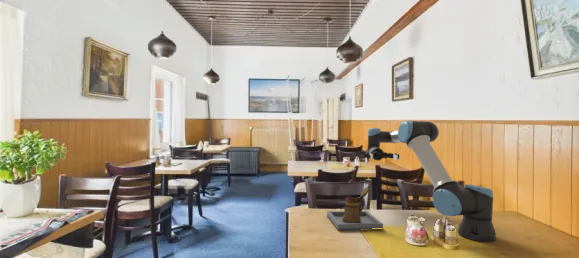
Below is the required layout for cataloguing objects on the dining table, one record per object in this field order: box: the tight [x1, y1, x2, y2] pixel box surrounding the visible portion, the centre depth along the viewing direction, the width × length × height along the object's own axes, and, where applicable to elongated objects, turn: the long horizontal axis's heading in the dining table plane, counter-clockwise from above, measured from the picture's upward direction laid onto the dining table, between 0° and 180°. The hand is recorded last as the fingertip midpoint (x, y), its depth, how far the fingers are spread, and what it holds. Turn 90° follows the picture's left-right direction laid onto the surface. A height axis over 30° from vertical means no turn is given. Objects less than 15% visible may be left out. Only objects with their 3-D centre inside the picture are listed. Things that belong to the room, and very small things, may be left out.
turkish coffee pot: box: [343, 185, 371, 223], centre depth 165 cm, size 9×14×18 cm, turn 93°
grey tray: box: [326, 210, 384, 232], centre depth 165 cm, size 22×22×3 cm
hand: (384, 157), depth 180 cm, fingers open, 13 cm apart
